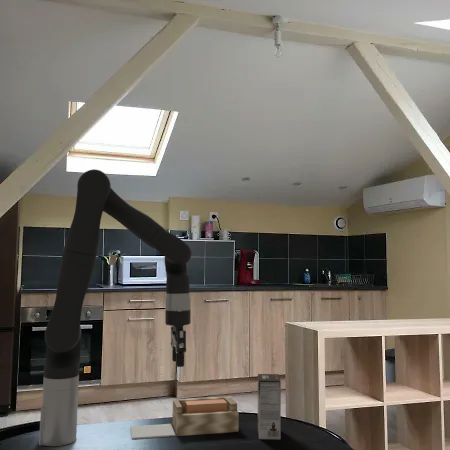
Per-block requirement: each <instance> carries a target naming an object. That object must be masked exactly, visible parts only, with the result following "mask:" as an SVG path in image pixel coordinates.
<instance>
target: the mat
mask: <svg viewBox="0 0 450 450" xmlns="http://www.w3.org/2000/svg"><path fill="white" fill-rule="evenodd" d="M129 429H130V435H131V440H139V439H140V440H141V439H143V440H144V439H155V438H167V437H170V436H171V437H176V432H175V430H174V428H173V426H172V423H165V424H164V423H162V424H148V425H135V426H132V425H131V426H130V427H129Z"/></svg>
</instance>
